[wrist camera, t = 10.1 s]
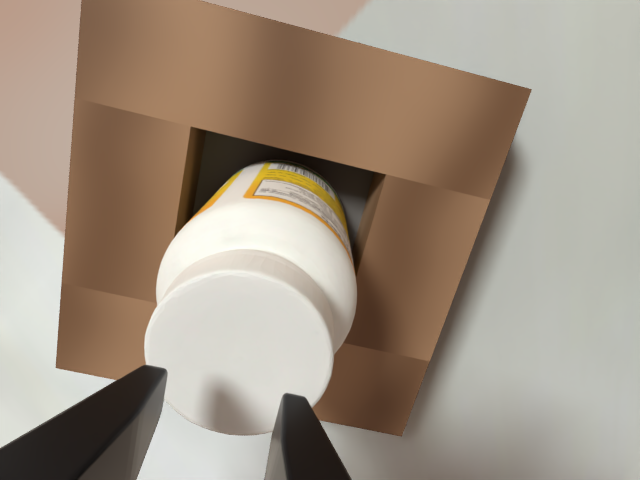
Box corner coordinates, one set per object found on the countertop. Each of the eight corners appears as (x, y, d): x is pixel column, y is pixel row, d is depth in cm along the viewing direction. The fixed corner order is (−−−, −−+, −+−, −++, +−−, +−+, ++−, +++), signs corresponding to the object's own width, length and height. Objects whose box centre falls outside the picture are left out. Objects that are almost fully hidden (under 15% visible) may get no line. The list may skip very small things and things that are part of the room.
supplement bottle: (325, 141, 18) (335, 205, 9) (358, 267, 19) (395, 432, 10) (192, 178, 18) (65, 276, 9) (236, 298, 20) (165, 483, 11)
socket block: (492, 87, 18) (532, 89, 15) (389, 383, 22) (401, 436, 19) (129, -9, 17) (83, -31, 14) (96, 323, 21) (55, 368, 18)
